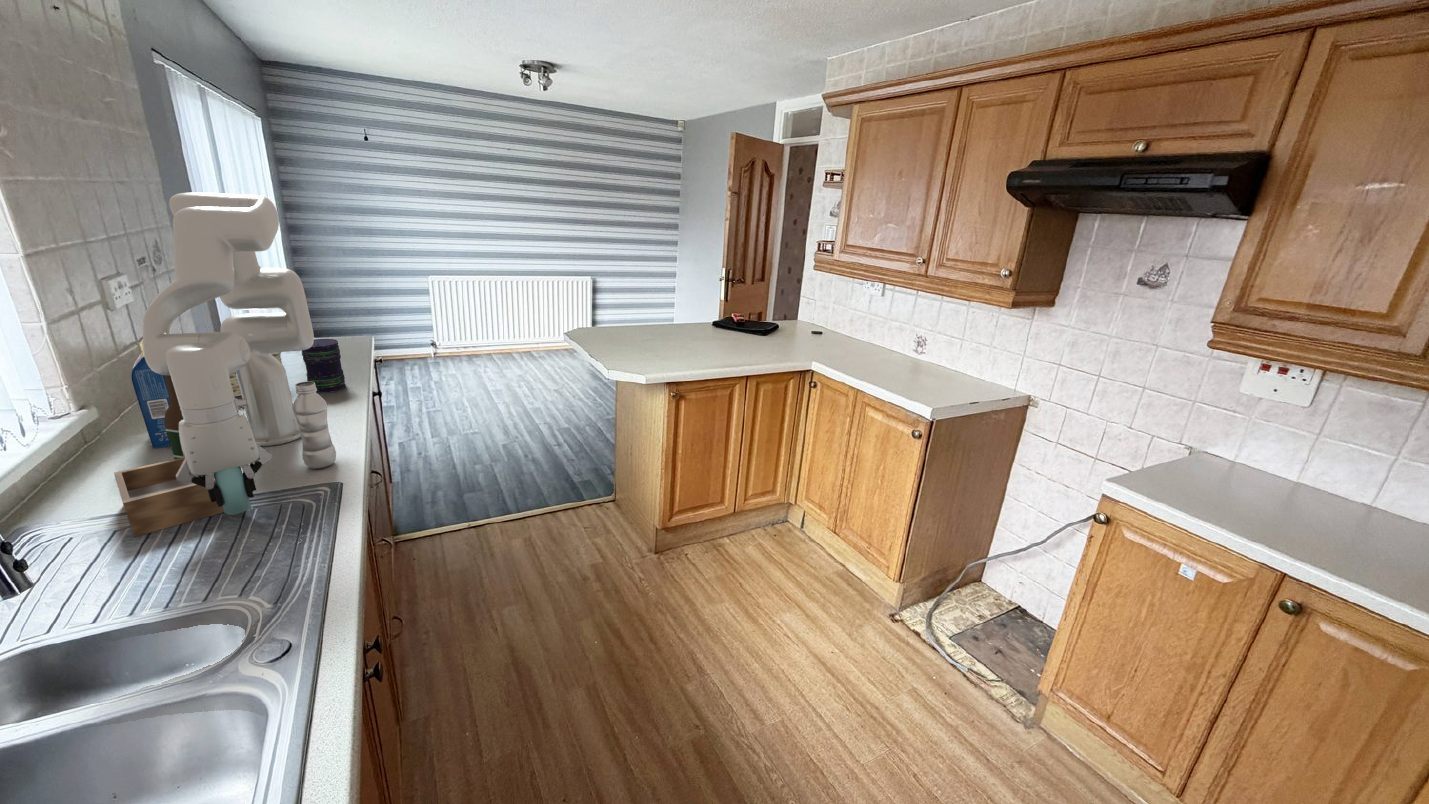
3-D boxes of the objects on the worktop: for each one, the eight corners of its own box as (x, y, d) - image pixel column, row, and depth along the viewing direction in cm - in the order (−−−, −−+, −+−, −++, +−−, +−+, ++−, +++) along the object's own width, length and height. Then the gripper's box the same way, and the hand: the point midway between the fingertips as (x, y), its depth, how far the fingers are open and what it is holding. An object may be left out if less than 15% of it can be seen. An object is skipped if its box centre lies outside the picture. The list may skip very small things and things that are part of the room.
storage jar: (312, 384, 181) (303, 339, 176) (348, 382, 185) (340, 337, 180) (306, 394, 173) (296, 347, 168) (343, 391, 177) (335, 345, 172)
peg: (248, 501, 111) (235, 456, 108) (253, 509, 109) (241, 463, 105) (222, 508, 109) (208, 462, 105) (226, 517, 106) (213, 470, 103)
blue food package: (189, 427, 146) (162, 333, 138) (187, 443, 138) (158, 344, 129) (156, 432, 142) (126, 336, 134) (152, 449, 134) (120, 347, 125)
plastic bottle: (302, 474, 127) (284, 390, 120) (306, 461, 132) (289, 380, 125) (336, 469, 129) (320, 387, 123) (339, 457, 135) (324, 378, 128)
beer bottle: (186, 480, 121) (154, 374, 113) (172, 470, 125) (141, 366, 117) (230, 467, 127) (203, 366, 119) (216, 458, 131) (189, 359, 123)
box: (227, 478, 123) (220, 449, 121) (245, 505, 113) (237, 474, 111) (124, 504, 111) (113, 472, 109) (134, 537, 102) (122, 503, 99)
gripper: (262, 395, 110) (282, 477, 116) (143, 416, 98) (173, 507, 104) (273, 406, 105) (292, 491, 112) (149, 430, 93) (180, 524, 100)
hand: (234, 498), depth 108 cm, fingers closed on peg, 4 cm apart
